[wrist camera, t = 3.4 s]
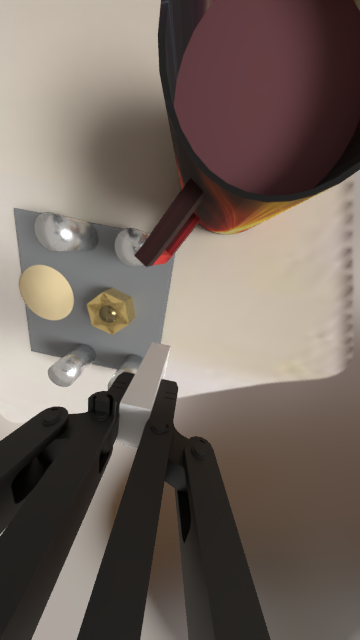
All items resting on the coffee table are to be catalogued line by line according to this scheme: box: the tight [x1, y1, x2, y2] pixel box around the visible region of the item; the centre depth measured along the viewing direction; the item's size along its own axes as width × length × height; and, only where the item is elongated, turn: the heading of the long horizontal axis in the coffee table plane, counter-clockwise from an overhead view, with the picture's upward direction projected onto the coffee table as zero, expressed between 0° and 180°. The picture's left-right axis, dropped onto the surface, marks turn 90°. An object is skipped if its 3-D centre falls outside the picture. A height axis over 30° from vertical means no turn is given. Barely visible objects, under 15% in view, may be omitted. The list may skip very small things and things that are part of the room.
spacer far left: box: [48, 344, 96, 387], centre depth 23 cm, size 3×3×5 cm
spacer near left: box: [35, 212, 99, 251], centre depth 18 cm, size 3×3×5 cm
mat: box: [14, 208, 175, 369], centre depth 23 cm, size 18×18×1 cm
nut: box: [87, 288, 136, 335], centre depth 22 cm, size 5×4×2 cm
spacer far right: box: [108, 354, 143, 390], centre depth 23 cm, size 3×3×5 cm
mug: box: [134, 0, 360, 267], centre depth 13 cm, size 10×14×12 cm
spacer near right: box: [115, 228, 150, 267], centre depth 18 cm, size 3×3×5 cm
